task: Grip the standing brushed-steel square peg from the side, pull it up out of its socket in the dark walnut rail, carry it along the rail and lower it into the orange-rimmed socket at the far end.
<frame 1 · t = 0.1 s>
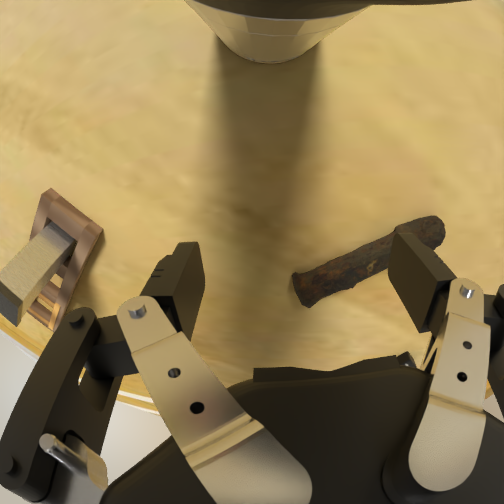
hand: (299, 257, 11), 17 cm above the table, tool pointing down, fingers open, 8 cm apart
hand tool: (365, 244, 31), on the table
rail: (52, 270, 35), on the table
peg: (65, 234, 31), resting in rail
multiport hub: (376, 371, 46), on the table
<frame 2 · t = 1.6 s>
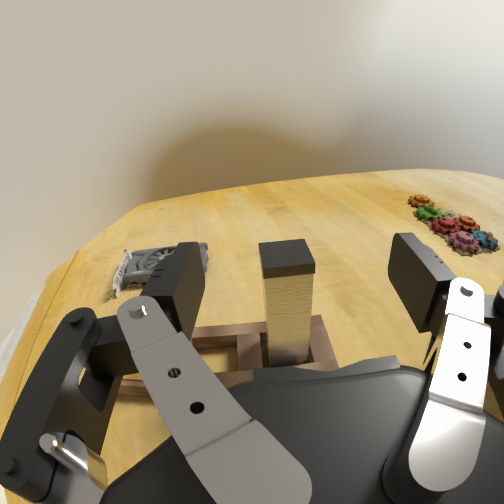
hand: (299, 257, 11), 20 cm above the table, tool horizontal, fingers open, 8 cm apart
gear puzzle: (446, 224, 58), on the table
rail: (216, 364, 31), on the table
peg: (286, 358, 31), resting in rail
graphics card: (163, 276, 49), on the table
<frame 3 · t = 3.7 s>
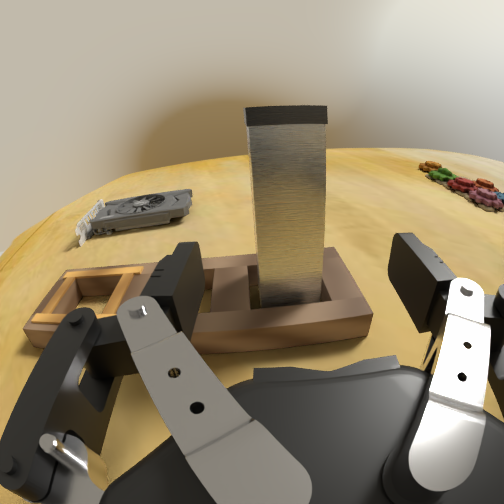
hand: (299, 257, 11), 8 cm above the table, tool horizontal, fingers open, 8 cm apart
gear puzzle: (462, 188, 49), on the table
rail: (182, 311, 21), on the table
peg: (286, 303, 21), resting in rail
graphics card: (138, 226, 40), on the table
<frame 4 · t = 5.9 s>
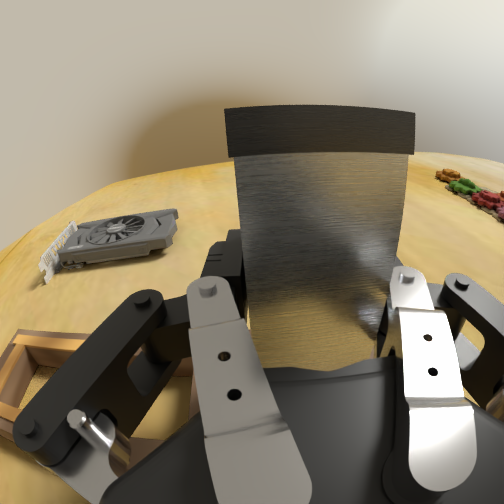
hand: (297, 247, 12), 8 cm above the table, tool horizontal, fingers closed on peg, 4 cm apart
gear puzzle: (485, 201, 42), on the table
rail: (153, 411, 14), on the table
peg: (297, 406, 14), resting in rail, touching gripper
graphics card: (114, 256, 32), on the table
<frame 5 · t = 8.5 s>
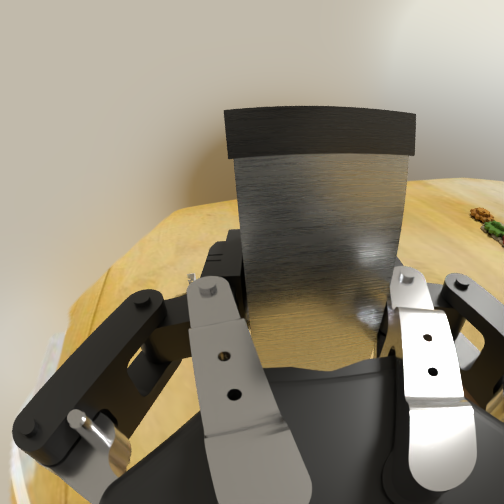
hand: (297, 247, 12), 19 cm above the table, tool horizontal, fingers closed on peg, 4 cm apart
peg: (297, 407, 14), point 11 cm above the table, touching gripper
when the fingers open (9 cm above the table, at t = 11.2 s): peg stays where it is, resting in rail.
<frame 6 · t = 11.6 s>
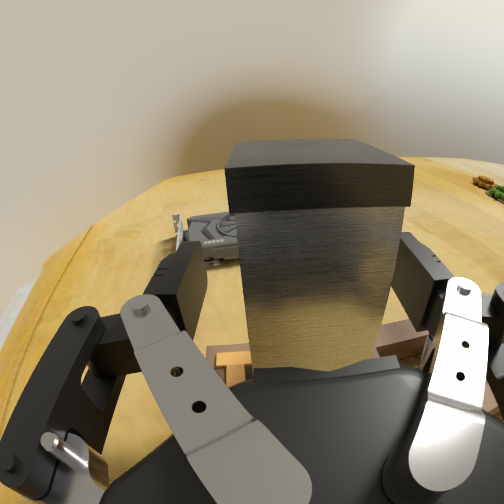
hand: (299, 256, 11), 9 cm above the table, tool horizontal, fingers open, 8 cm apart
rail: (417, 388, 14), on the table
peg: (297, 417, 14), resting in rail
graphics card: (247, 251, 33), on the table
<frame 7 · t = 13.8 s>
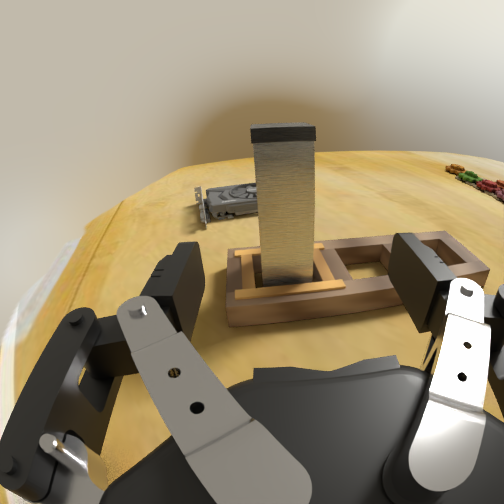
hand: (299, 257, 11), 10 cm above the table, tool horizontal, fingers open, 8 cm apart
gear puzzle: (485, 188, 55), on the table
rail: (366, 277, 26), on the table
peg: (285, 288, 26), resting in rail
graphics card: (251, 211, 45), on the table
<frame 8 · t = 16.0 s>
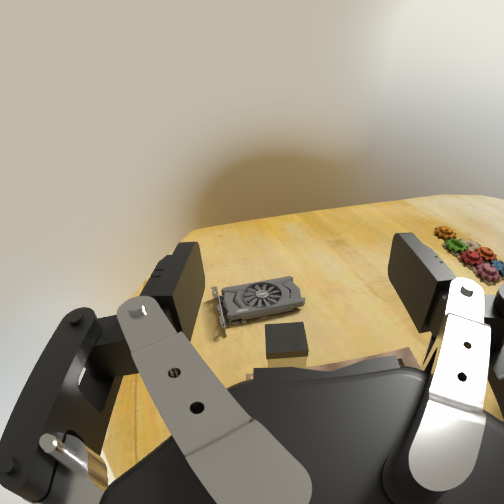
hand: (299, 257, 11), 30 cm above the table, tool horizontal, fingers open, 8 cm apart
gear puzzle: (469, 254, 65), on the table
rail: (339, 394, 36), on the table
peg: (284, 403, 35), resting in rail
graphics card: (259, 310, 55), on the table
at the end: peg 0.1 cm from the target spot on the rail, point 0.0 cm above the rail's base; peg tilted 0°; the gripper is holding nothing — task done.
